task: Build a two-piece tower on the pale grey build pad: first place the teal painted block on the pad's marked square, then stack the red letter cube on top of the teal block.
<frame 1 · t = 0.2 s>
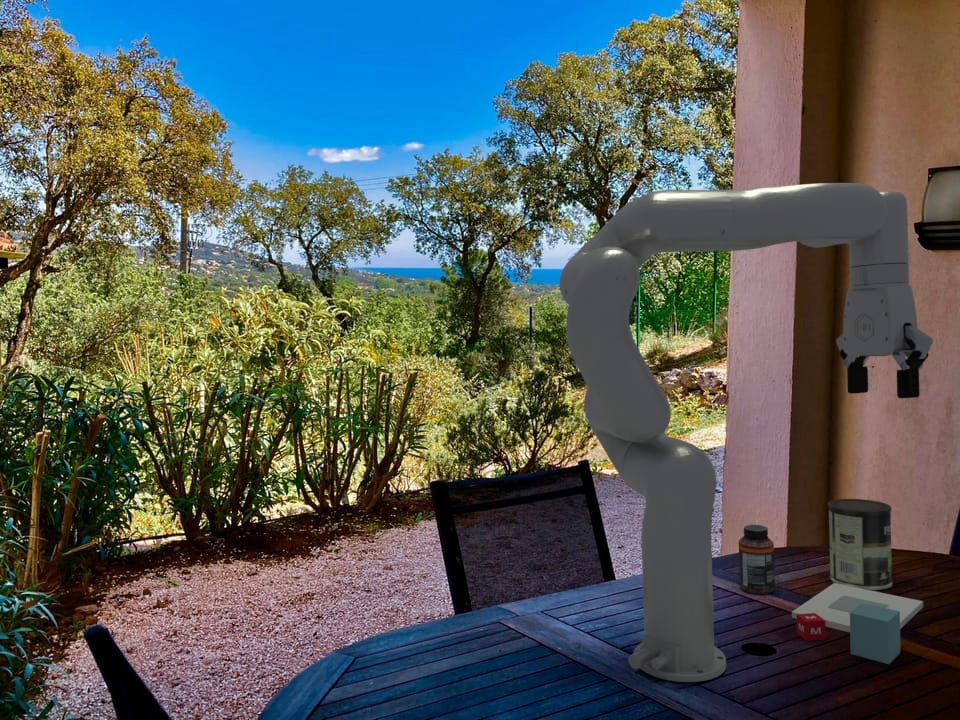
hand: (882, 395, 108), 36 cm above the table, tool pointing down, fingers open, 9 cm apart
supplement bottle: (757, 590, 132), on the table
build pad: (858, 612, 120), on the table
red letter cube: (811, 638, 111), on the table
teal block: (875, 653, 105), on the table
coffee can: (860, 582, 135), on the table
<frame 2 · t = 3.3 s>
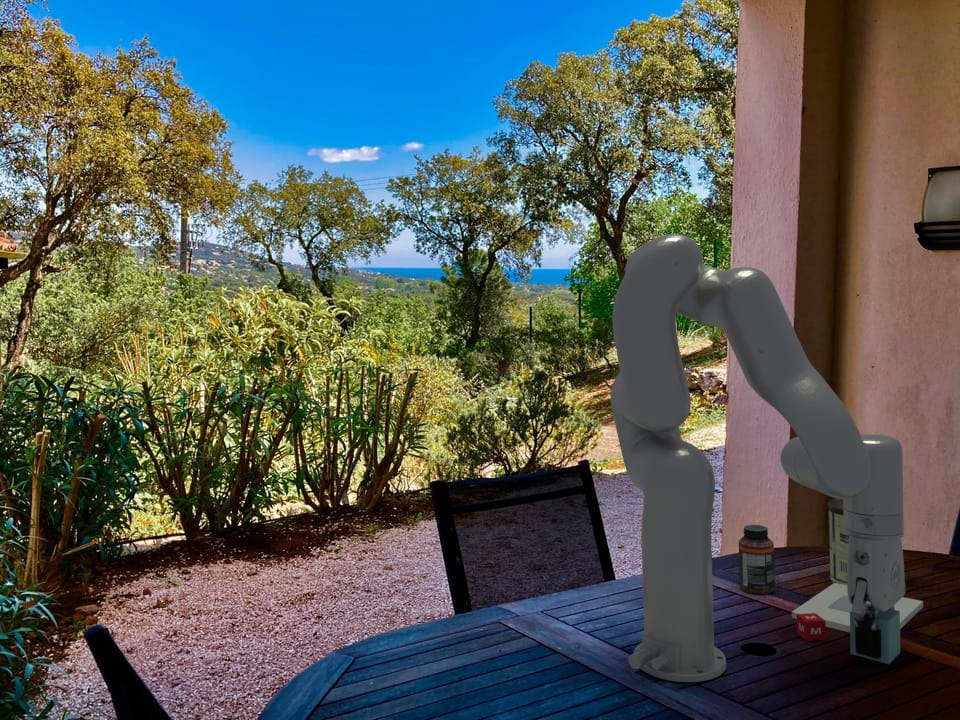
hand: (875, 647, 105), 1 cm above the table, tool pointing down, fingers closed on teal block, 5 cm apart
teal block: (875, 653, 105), on the table, touching gripper
everything else where it was.
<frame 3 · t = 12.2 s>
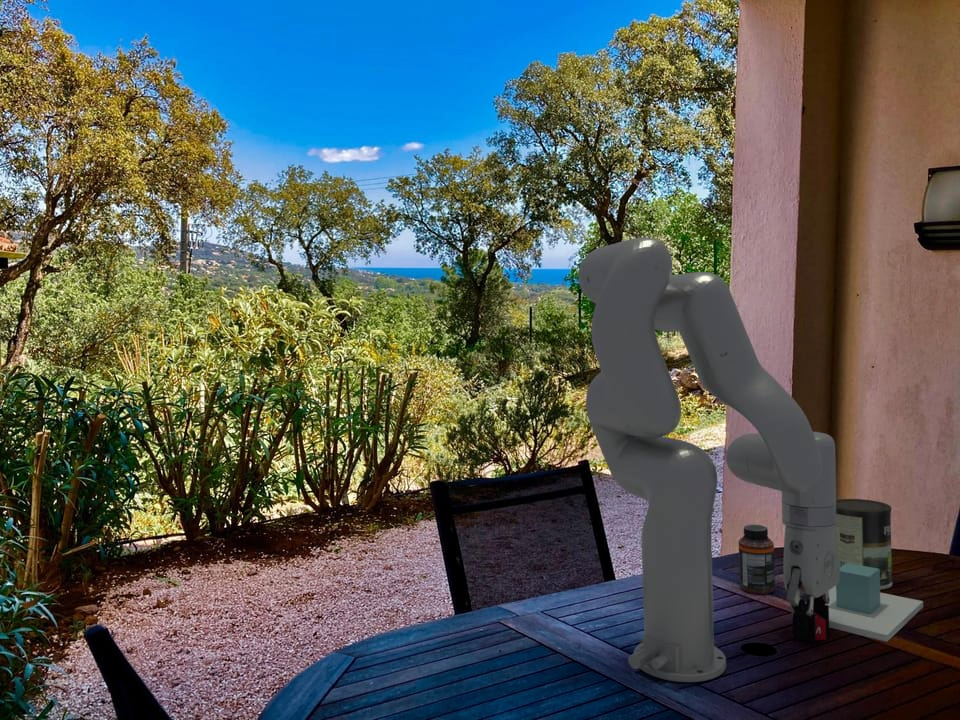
hand: (811, 632, 111), 0 cm above the table, tool pointing down, fingers closed on red letter cube, 4 cm apart
red letter cube: (811, 637, 111), on the table, touching gripper
teal block: (858, 606, 120), point 1 cm above the table, touching build pad
everything else where it was.
when the fingers open (8 cm above the table, at t = 16.9 s): red letter cube stays where it is, resting on teal block.
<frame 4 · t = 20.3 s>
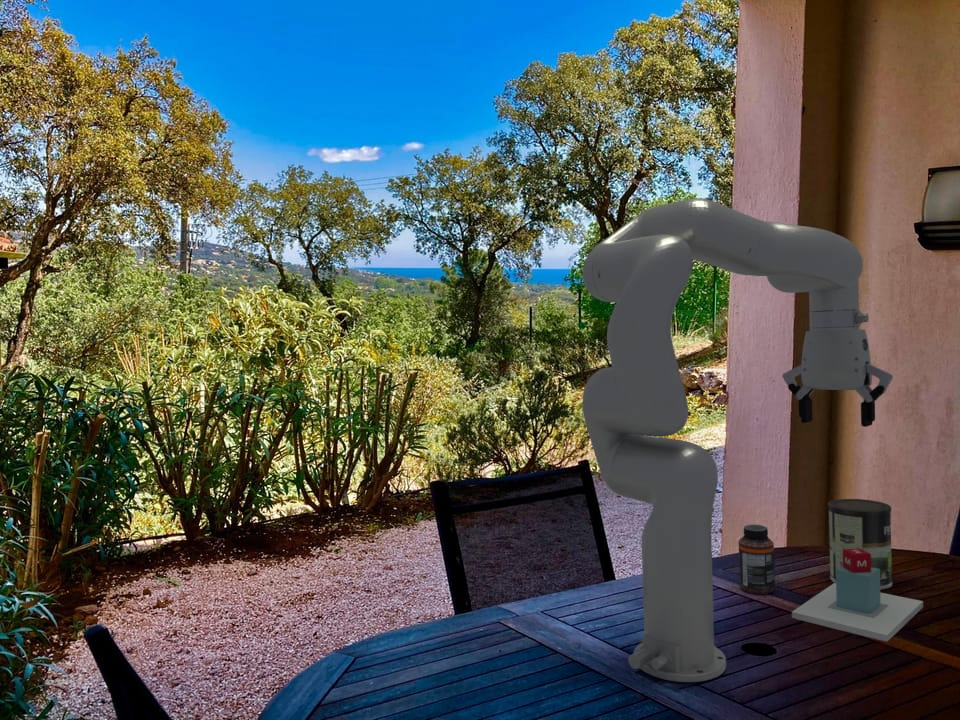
hand: (836, 423, 124), 30 cm above the table, tool pointing down, fingers open, 9 cm apart
red letter cube: (857, 570, 120), point 7 cm above the table, touching teal block
teal block: (858, 606, 120), point 1 cm above the table, touching build pad, red letter cube
everything else where it was.
at the end: teal block inside the target area on the build pad (0.1 cm from its centre), point 1.1 cm above the build pad's base; red letter cube 0.1 cm off-centre on the teal block, point 5.8 cm above the teal block's base; the gripper is holding nothing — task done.
